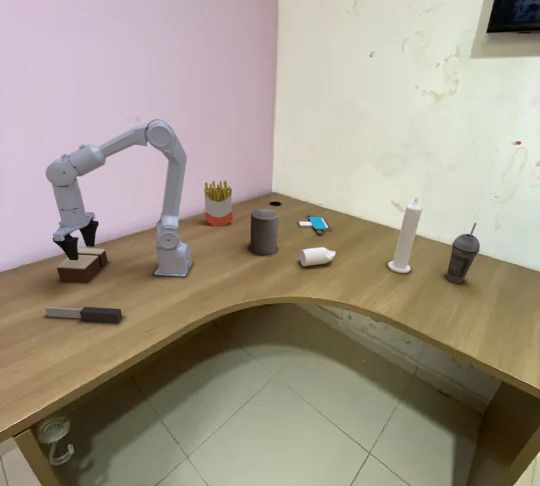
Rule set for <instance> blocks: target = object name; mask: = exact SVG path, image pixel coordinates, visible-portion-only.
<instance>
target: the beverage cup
mask: <svg viewBox="0 0 540 486" xmlns="http://www.w3.org/2000/svg"><path fill="white" fill-rule="evenodd" d="M476 226H477V222H474V224H473V226H472V229H471V231H470V233H464V234H460V235H458V236H456V238H454V240H453V242H452V243H451V245H452V246H451V254H450V258H449V263H448V268H447V273H446V279H447V280H448V281H450V282H452V283H456V284H461V283H463V282H464V280H465V277H466V276H467V274H468V272H469V271H470V268H471V266H472V264H473V262H474V260H475V258H476V257H477V255H478V253H480V248H481V244H480V240H479V239H478V237H476V236H474V235H473V233H474V231H475V229H476Z"/></svg>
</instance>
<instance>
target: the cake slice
mask: <svg viewBox="0 0 540 486" xmlns="http://www.w3.org/2000/svg"><path fill="white" fill-rule="evenodd" d="M77 249H78V255H93V256H98V259H99V263H100V268H101V269H103V268H104V267H106V265H108V264H109V261H108V256H107V251H106V249H105V248H94V247H91V248H90V247H79V248H77Z"/></svg>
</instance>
